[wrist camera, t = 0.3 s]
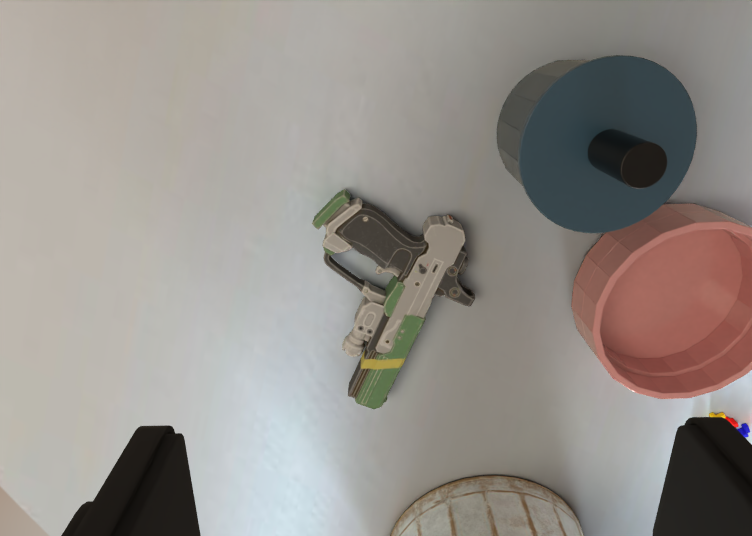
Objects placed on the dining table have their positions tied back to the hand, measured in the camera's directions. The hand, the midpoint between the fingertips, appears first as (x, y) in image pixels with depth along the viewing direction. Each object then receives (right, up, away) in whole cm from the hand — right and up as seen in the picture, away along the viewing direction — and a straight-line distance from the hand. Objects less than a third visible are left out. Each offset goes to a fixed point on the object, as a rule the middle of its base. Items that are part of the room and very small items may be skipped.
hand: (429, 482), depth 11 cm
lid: (+14, +12, +25) cm, 31 cm away
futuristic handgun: (-1, +2, +38) cm, 38 cm away
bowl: (+24, +2, +38) cm, 45 cm away
